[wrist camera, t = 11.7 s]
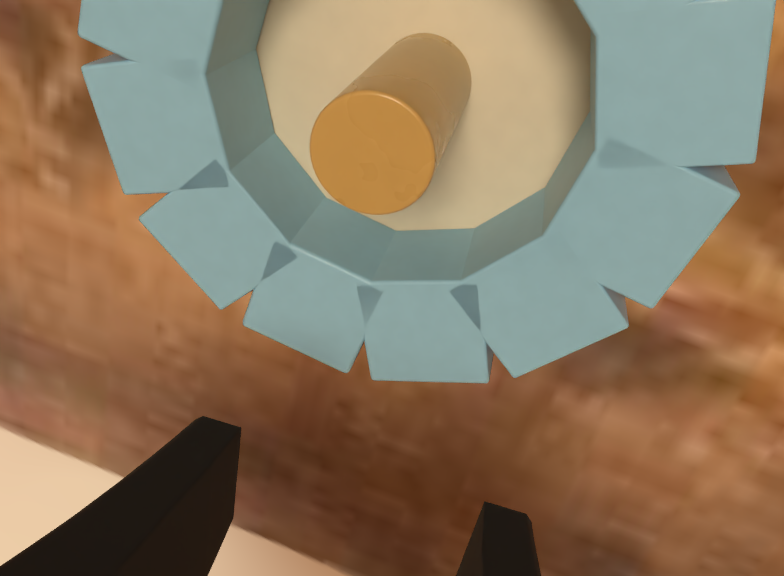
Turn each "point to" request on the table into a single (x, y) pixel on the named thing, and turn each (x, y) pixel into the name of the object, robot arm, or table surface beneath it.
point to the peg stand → (426, 101)
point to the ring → (443, 246)
